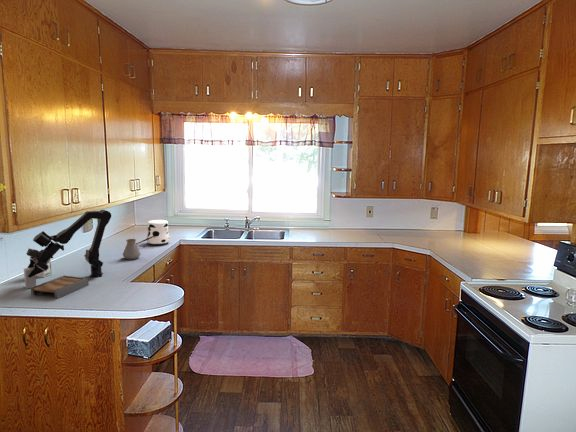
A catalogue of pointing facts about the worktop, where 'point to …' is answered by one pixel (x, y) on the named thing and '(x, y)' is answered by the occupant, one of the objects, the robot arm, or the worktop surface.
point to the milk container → (158, 232)
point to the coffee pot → (132, 249)
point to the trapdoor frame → (66, 289)
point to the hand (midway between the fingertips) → (27, 275)
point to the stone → (29, 281)
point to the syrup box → (45, 273)
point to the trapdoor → (56, 284)
